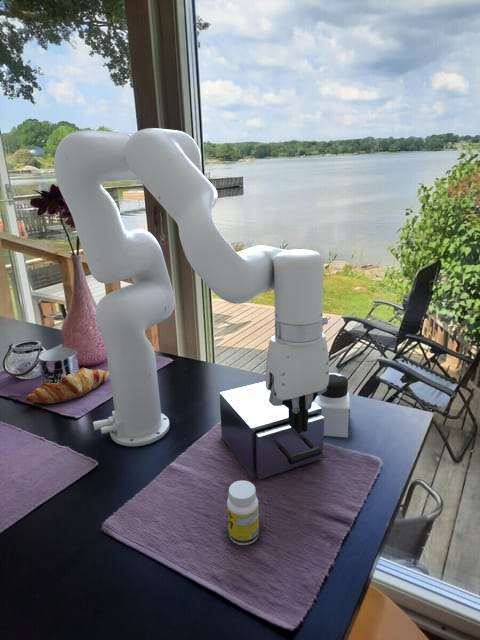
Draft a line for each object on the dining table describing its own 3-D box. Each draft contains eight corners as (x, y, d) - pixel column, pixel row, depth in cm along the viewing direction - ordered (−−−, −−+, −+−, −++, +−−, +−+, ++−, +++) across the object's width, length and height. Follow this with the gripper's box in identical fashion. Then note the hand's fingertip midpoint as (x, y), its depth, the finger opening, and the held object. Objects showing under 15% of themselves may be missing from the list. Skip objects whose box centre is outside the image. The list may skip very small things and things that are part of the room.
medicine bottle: (348, 438, 90) (351, 386, 86) (313, 435, 92) (314, 383, 88) (347, 420, 97) (350, 370, 93) (314, 417, 98) (316, 368, 94)
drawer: (338, 472, 79) (340, 430, 76) (272, 496, 74) (271, 451, 71) (286, 423, 95) (286, 386, 92) (229, 440, 90) (227, 401, 87)
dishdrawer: (320, 456, 85) (321, 408, 82) (252, 479, 79) (251, 428, 76) (282, 420, 98) (282, 377, 94) (221, 437, 92) (219, 392, 89)
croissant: (106, 387, 123) (96, 360, 123) (120, 381, 115) (110, 353, 115) (27, 415, 109) (16, 384, 109) (37, 411, 101) (26, 378, 101)
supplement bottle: (227, 523, 70) (225, 479, 67) (257, 520, 70) (256, 476, 67) (229, 547, 65) (227, 501, 62) (261, 544, 66) (260, 499, 63)
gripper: (324, 314, 76) (322, 408, 82) (246, 330, 71) (249, 429, 76) (351, 327, 70) (347, 427, 76) (268, 345, 64) (270, 452, 70)
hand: (298, 428), depth 76 cm, fingers closed
